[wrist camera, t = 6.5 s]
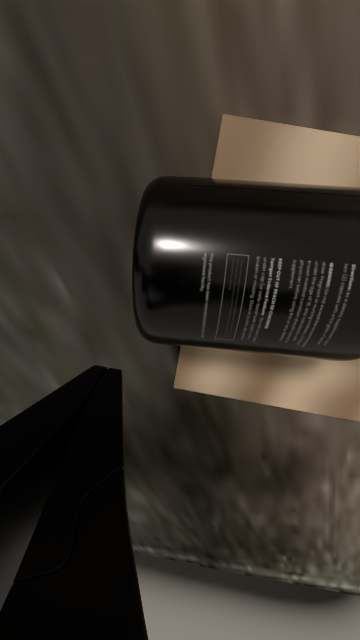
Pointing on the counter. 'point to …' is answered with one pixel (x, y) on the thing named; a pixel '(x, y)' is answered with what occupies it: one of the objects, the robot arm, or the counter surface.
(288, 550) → the counter surface
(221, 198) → the supplement bottle
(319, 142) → the cork mat
